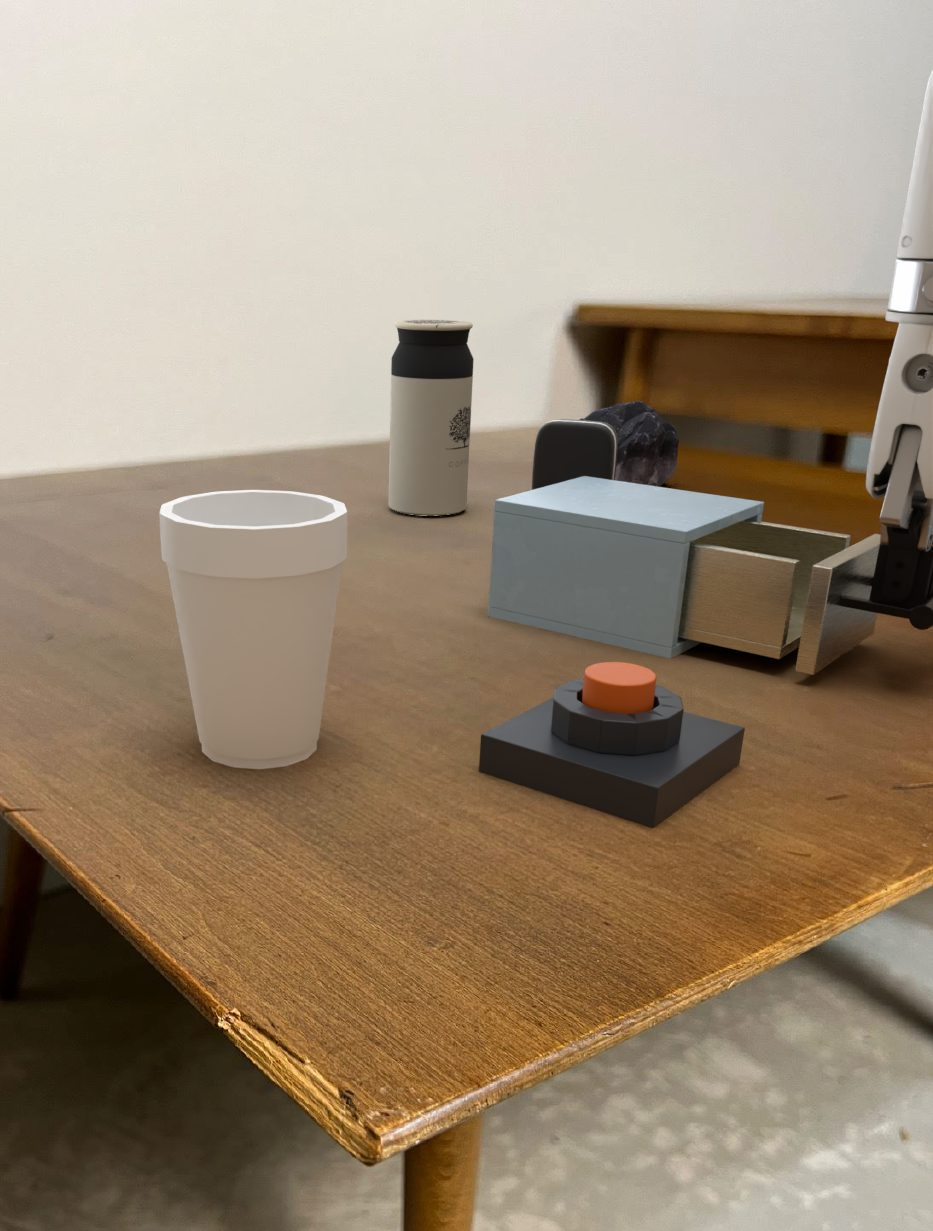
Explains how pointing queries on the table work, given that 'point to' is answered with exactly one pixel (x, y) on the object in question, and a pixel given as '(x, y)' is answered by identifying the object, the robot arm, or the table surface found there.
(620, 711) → the button
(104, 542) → the table surface
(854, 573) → the metal drawer
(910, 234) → the robot arm
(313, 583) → the foam cup
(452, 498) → the travel mug
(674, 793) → the control block
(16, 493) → the table surface
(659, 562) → the light blue drawer box
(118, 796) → the table surface
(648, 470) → the crystal cluster
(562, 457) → the battery charger
